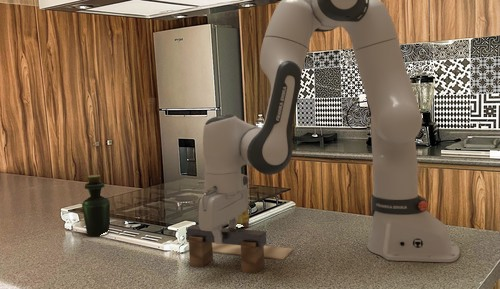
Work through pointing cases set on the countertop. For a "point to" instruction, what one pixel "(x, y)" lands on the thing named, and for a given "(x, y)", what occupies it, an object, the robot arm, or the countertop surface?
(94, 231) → the potion bottle
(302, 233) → the countertop surface
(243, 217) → the sauce bottle
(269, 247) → the wooden plank
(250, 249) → the post
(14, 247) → the countertop surface
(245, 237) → the rail
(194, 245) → the post
